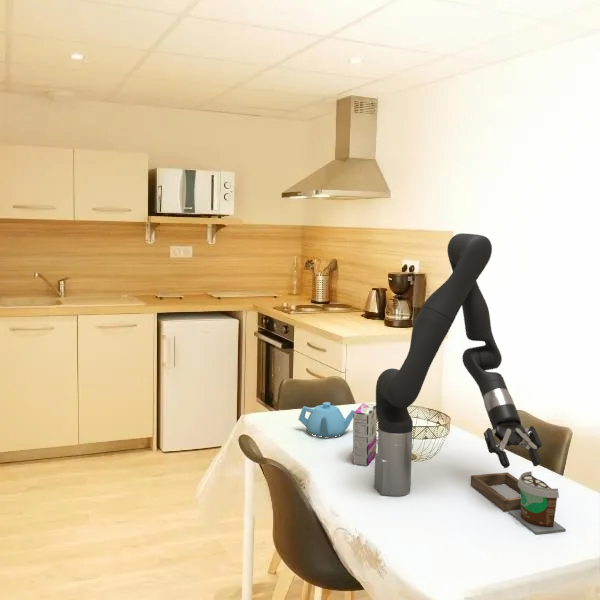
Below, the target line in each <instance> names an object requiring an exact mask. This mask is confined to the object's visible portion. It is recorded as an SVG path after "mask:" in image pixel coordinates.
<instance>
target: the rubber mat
mask: <svg viewBox="0 0 600 600" xmlns="http://www.w3.org/2000/svg"><path fill="white" fill-rule="evenodd" d="M507 513H508V515H510V516H511V517H512V516H513V517H512V518H514V519H515V520H516V521H518V522H519V523H520V524H522V525H523V526H524V527H525V528H527V529H528V530H529V531H530V532H531V533H533V534H534V535H535V536H537V535H538V536H539V535H547V534H554V533H556V534H557V533H564V532H566V530H567V529H566V528H565V527H564V526H562V525H561V524H559V523H558V522H557V521H556V520H554V525H553V527H540V526H536V525H532V524H530V523H527V522H526V521H524V520H523V519H522V517H521V510H512V511H508V512H507Z"/></svg>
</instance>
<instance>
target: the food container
mask: <svg viewBox="0 0 600 600" xmlns="http://www.w3.org/2000/svg"><path fill="white" fill-rule="evenodd" d="M532 473H533V472H532V470H531V471H525V472H523V473H521V474H520V476H519V478H518V487H519V488H520V492H521V495H520V497H521V517H522V519H523V520H524V521H526V522H527V523H530V524H532V525H536V526H540V527H553V525H554V521H555V517H556V509H557V503H558V502H557V500H558V498H560V494H559V488H551V486H549V485H548V484H547V482H545V481H544V480H541V479H539V478H537V477H535V476H534V475H532Z"/></svg>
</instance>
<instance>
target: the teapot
mask: <svg viewBox="0 0 600 600" xmlns="http://www.w3.org/2000/svg"><path fill="white" fill-rule="evenodd" d="M355 411H356V410H351V411H350V412H349V413H348V415H347V416H346V417H344V415H343V413H342V412H341V409H340V408H339V407H337V406H336V405H331V402H330V401H326V402H322V404H320V405H316V406H314V407H313V408H312V407H309V406H305V405H303V407H302V408H301V412H300V414H299V416H298V421H299V422H301V424H302V425H303V426H305V428H306V430H307V432H308V433H309V434H310V433H311V434H313V435H316V436H322V437H335V436H339V435H341V436H342V435H343V434H344V433H345V432H346V430H347V429H348V428H349V426H350V424H351V422H352V421H353V413H354V412H355ZM307 413H309V416H308V417H307V418H306V414H307ZM311 434H310V435H311ZM313 435H312V436H313ZM339 437H340V436H339ZM335 438H336V437H335Z"/></svg>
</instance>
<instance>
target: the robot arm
mask: <svg viewBox="0 0 600 600" xmlns="http://www.w3.org/2000/svg"><path fill="white" fill-rule="evenodd" d="M492 252H493V246H492V242H491V240H490V239H489V238H488V237H487V236H484V235H481V234H475V233H462V232H461V233H457V234H454V235H453V236H452V237H451V239H450V240H449V242H448V244H447V257H448V261H449V265H450V267H451V271H452V272H451V274H450V276H449V277H448V278H447V279H446V281H444V283H443V284H441V285H440V286H439V287H438V288H437V289H435V291H433V293H432V294H430V296H428V297H427V299H426V300H425V301H424V303H423V304H422V306H421V307H420V310H419V311H418V314H417V315H416V318H415V319H414V323H413V326H412V330H411V335H410V336H411V337H410V345H409V350H408V353H407V356H406V357H405V358H404V361H403V363H402V365H401V367H400V368H399V369H397V368H388V369H385V370H384V371H383V372H381V373H380V375H379V376H378V378H377V380H376V385H375V405H376V416H377V421H378V424H377V426H378V427H377V428H378V429H377V430H378V431H377V432H378V433H377V437H378V438H377V452H376V454H375V457H374V472H373V473H374V476H373V478H374V480H373V487H374V488H375V489H376V490H377V492H378V493H379V494H380V495H381V496H385V495H386V496H392V497H400V496H401V497H402V496H406V495H408V494H410V493H411V487H412V460H413V459H412V455H413V454H412V452H413V451H412V450H413V427H414V425H413V418H412V417H411V415H410V413H409V411H408V408H409V407H410V406H412V405H413V403H415V402H416V400H417V398H418V397H419V395H420V392H421V390H422V387H423V384H424V383H425V380H426V377H427V375H428V372H429V369H430V367H431V366H432V363H433V361H434V359H435V358H436V357H437V354H438V351H439V350H440V348H441V346H442V345H443V342H444V340H445V338H446V336H447V334H448V333H449V331H450V329H451V327H452V325H453V324H454V321H455V320H456V318H457V315H458V313H459V312H460V309H461V308H462V316H463V320H464V321H463V323H464V330H465V336H466V339H468V340H470V341H473V342H484V345H480V346H475V347H468V348H467V349H465V350H464V351H463V353H462V358H461V359H462V363H463V364H462V365H463V366H464V367H465V369H466V371H467V372H468V373H469V375H470V376H471V378H472V379H473V380H474V382H475V383H476V384H477V385H476V386H478V389H479V391H480V394H481V397H482V399H483V404H484V405H483V406H484V408H485V410H486V413H487V417H488V418H489V422H490V424H491V427H492V428H491V427H488V428H487V429H485V431H484V432H483V437H484V439H485V440H484V441H485V443H486V444H485V445H486V447H487V450H488V453H490V454H495V455H496V456H497V457H498V458H497V459H498V461H499V464H500V465H501V466H502V468H503V469H507V468H509V467H510V465H511V463H510V460H509V457H508V455H507V452H506V451H505V447H510V446H515V447H516V446H519V447H520V448H522V449H525V450H526V451H527V452H528V455H529V458H530V460H531V463H532V465H533V467H538V466H539V465H540V464H541V458H540V455H539V452H538V451H539V449H540V448H542V447H543V444H542V441H541V440H540V437H539V434H538V432H537V430H536V428H535V427H534V426H533V425H530V426H529V427H526V428H525V427H524V426H523V425H522V421H521V418H520V415H519V413H518V410H517V407H516V405H515V403H514V400H513V397H512V395H511V393H510V391H509V390H508V387H507V385H506V381H505V379H504V377H503V375H502V374H501V373H500V372H496V371H495V372H494V371H492V370H495V369H498V368H499V367H500V366H501V364H502V359H503V358H502V357H503V356H502V353H501V351H500V349H499V347H498V345H497V343H496V341H495V338H494V335H493V330H492V325H491V324H492V322H491V317H490V316H491V315H490V311H489V306H488V304H487V302H486V299H485V297H484V295H483V293H482V290H481V288H480V286H479V285H478V282H477V280H478V279H479V277H480V275H482V273H483V271H484V270H485V269H486V267H487V265H488V264H489V262H490V259H491V258H492ZM490 370H491V371H490ZM495 437H496V438H497V439H498V440H499V441H498V443H496V440H495ZM523 441H524V442H523Z"/></svg>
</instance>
